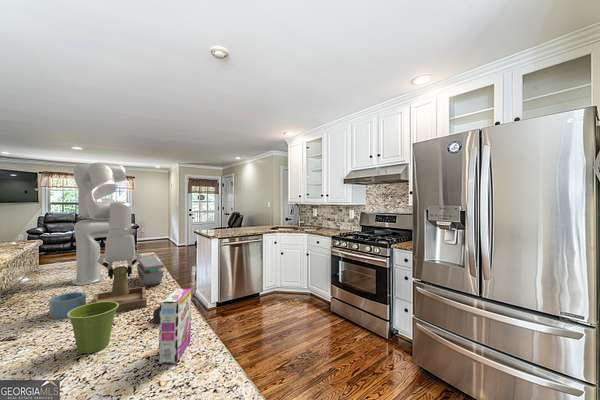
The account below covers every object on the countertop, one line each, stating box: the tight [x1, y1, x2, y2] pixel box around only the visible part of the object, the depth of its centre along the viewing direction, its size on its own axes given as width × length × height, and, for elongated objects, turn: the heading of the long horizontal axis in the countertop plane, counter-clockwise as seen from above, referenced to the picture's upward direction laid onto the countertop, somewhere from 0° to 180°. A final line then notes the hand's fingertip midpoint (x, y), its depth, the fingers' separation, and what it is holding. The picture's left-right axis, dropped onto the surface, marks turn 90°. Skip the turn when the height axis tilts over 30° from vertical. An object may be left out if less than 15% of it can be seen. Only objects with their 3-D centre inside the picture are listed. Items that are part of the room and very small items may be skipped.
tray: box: [91, 286, 147, 314], centre depth 107 cm, size 18×18×3 cm
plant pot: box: [67, 301, 119, 354], centre depth 76 cm, size 12×12×11 cm
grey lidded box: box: [136, 255, 165, 287], centre depth 135 cm, size 25×8×11 cm, turn 39°
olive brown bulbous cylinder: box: [111, 265, 130, 297], centre depth 107 cm, size 6×6×11 cm
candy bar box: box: [158, 288, 192, 365], centre depth 74 cm, size 11×5×16 cm, turn 5°
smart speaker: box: [152, 306, 160, 325], centre depth 95 cm, size 9×9×4 cm
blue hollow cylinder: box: [48, 291, 87, 320], centre depth 99 cm, size 10×10×6 cm
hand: (120, 276), depth 107 cm, fingers closed on olive brown bulbous cylinder, 5 cm apart
